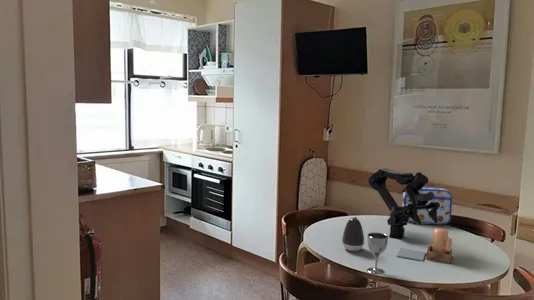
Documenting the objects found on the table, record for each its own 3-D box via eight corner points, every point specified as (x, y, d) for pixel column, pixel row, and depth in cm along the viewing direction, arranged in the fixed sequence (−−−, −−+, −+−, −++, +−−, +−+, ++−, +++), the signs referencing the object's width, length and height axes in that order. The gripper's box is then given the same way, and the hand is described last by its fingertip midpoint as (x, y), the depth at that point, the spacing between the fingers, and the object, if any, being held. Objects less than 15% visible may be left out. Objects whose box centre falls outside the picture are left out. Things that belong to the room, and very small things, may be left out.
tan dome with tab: (428, 256, 190) (430, 228, 188) (439, 254, 192) (441, 227, 190) (443, 263, 181) (445, 234, 180) (454, 261, 183) (456, 233, 182)
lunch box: (400, 223, 241) (403, 185, 238) (398, 218, 251) (401, 182, 248) (451, 226, 235) (454, 188, 233) (447, 221, 245) (450, 184, 243)
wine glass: (363, 267, 175) (365, 232, 174) (381, 266, 176) (383, 232, 174) (369, 275, 167) (371, 238, 166) (388, 274, 168) (391, 238, 166)
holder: (426, 259, 186) (426, 251, 185) (428, 252, 195) (428, 244, 194) (450, 263, 181) (451, 255, 181) (451, 256, 190) (452, 248, 190)
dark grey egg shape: (365, 247, 199) (366, 216, 198) (362, 254, 190) (364, 222, 188) (343, 244, 203) (344, 213, 201) (340, 251, 193) (341, 219, 191)
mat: (396, 256, 188) (396, 255, 188) (400, 249, 198) (400, 248, 197) (422, 261, 183) (422, 260, 183) (425, 253, 193) (425, 252, 193)
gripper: (406, 187, 193) (421, 216, 184) (439, 185, 200) (454, 213, 191) (395, 199, 202) (408, 228, 193) (426, 197, 208) (441, 225, 199)
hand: (428, 223), depth 194 cm, fingers open, 9 cm apart
